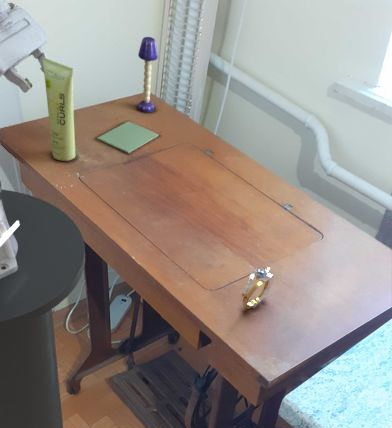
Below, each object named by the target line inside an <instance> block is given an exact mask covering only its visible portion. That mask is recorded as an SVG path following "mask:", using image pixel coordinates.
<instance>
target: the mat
mask: <svg viewBox="0 0 392 428" xmlns="http://www.w3.org/2000/svg"><path fill="white" fill-rule="evenodd" d="M157 137H159V133H157V132H155V131H152V130H150V129H147V128H145V127H143V126H141V125H138V124H136V123H134V122H132V121H130V120H129V121H125V122H124V123H122V124H120V125H119V126H117V127H115V128H113V129H111V130H109V131H107V132H105V133H104V134H101V135H99V136H98V137H97V140H98V141H100V142H102V143H104V144H106V145H109V146H111V147H113V148H115V149H118V150H120V151H122V152H124V153H126V154H130V153H133V152H134V151H136V150H138V149H139V148H140V147H142V146H144V145H146V144H147V143H149V142H150V141H152V140H154V139H156V138H157Z"/></svg>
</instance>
